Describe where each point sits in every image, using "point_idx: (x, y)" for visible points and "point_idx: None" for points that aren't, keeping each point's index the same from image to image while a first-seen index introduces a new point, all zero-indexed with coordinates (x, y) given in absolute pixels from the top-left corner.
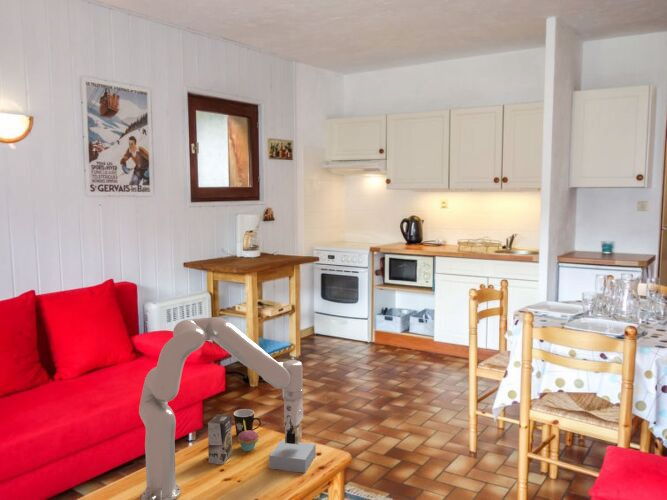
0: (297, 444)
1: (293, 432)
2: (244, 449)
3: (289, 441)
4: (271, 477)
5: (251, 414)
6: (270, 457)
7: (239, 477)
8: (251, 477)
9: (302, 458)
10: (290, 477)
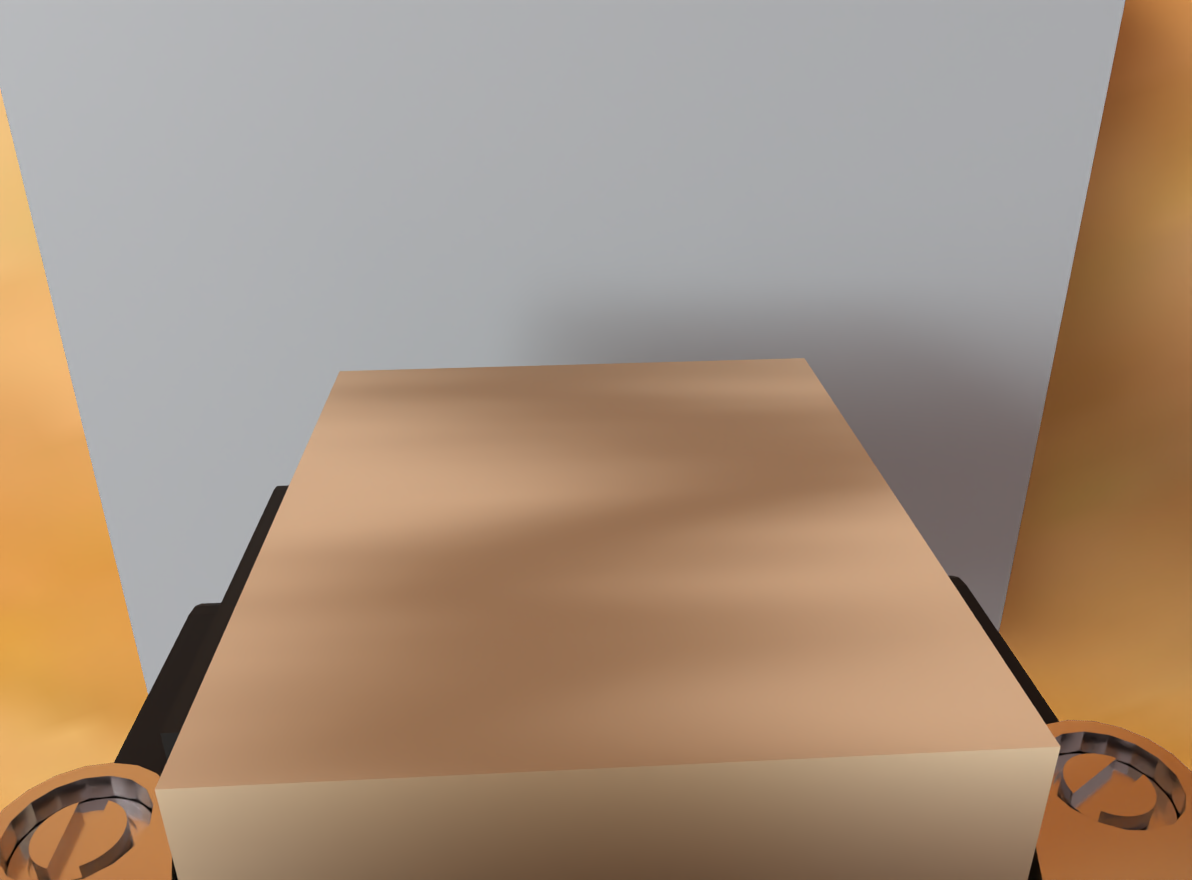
0: (807, 365)
1: (1085, 780)
2: None
3: None
4: (1186, 491)
5: None
6: None
7: None
8: (1186, 740)
9: (1055, 33)
10: (1185, 178)
